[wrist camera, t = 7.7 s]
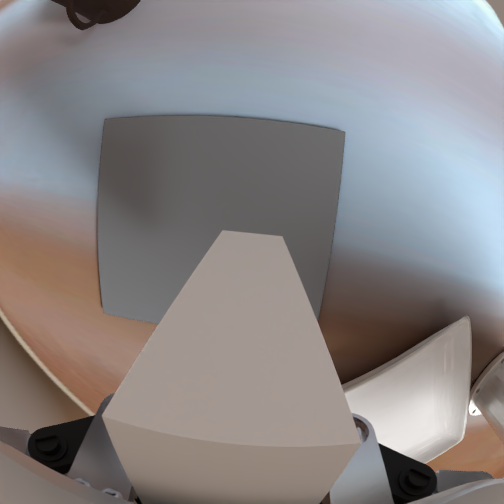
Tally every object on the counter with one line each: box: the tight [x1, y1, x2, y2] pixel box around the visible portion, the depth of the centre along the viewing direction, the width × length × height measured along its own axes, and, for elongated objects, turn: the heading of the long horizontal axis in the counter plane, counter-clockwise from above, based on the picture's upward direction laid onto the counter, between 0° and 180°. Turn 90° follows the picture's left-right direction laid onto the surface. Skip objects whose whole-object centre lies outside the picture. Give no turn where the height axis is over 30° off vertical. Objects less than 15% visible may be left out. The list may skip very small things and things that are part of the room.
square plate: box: [341, 316, 472, 464], centre depth 27 cm, size 27×27×4 cm
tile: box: [102, 230, 361, 504], centre depth 8 cm, size 3×8×10 cm, turn 174°
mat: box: [98, 115, 345, 324], centre depth 22 cm, size 20×18×1 cm
